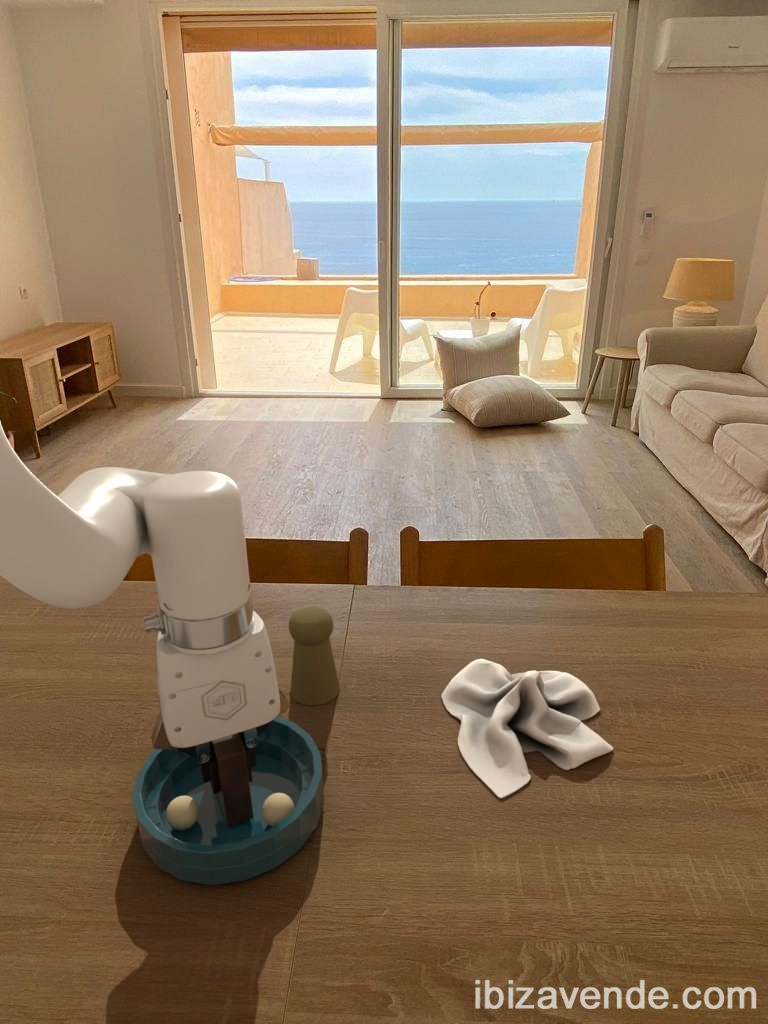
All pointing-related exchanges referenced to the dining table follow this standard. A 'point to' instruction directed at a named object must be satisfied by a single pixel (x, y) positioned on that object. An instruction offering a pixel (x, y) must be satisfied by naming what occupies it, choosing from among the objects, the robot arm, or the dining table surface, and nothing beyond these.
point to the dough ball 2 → (277, 808)
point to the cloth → (520, 721)
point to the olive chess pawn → (313, 657)
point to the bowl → (209, 842)
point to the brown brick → (233, 779)
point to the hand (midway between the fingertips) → (229, 776)
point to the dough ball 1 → (182, 813)
